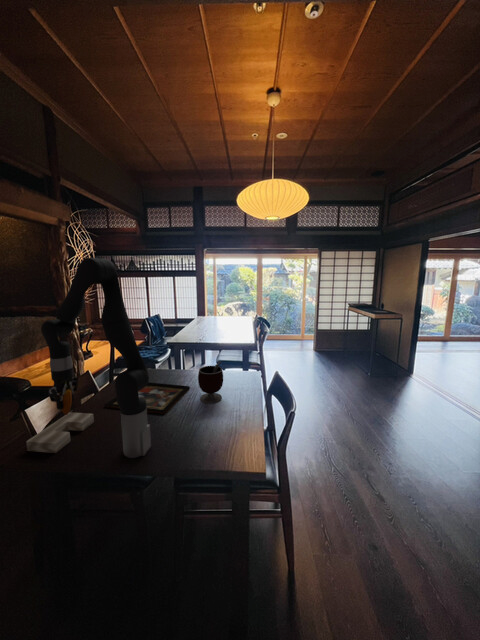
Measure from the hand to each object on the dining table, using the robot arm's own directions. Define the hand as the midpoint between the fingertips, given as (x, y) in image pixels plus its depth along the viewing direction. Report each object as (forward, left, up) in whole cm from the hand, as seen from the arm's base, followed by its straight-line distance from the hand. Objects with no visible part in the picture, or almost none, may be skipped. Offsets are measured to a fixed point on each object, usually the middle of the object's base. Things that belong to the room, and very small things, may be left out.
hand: (65, 405), depth 107 cm
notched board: (+2, 0, -14) cm, 14 cm away
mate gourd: (-54, -41, -14) cm, 69 cm away
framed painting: (-19, -38, -14) cm, 45 cm away
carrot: (0, 0, -4) cm, 4 cm away
